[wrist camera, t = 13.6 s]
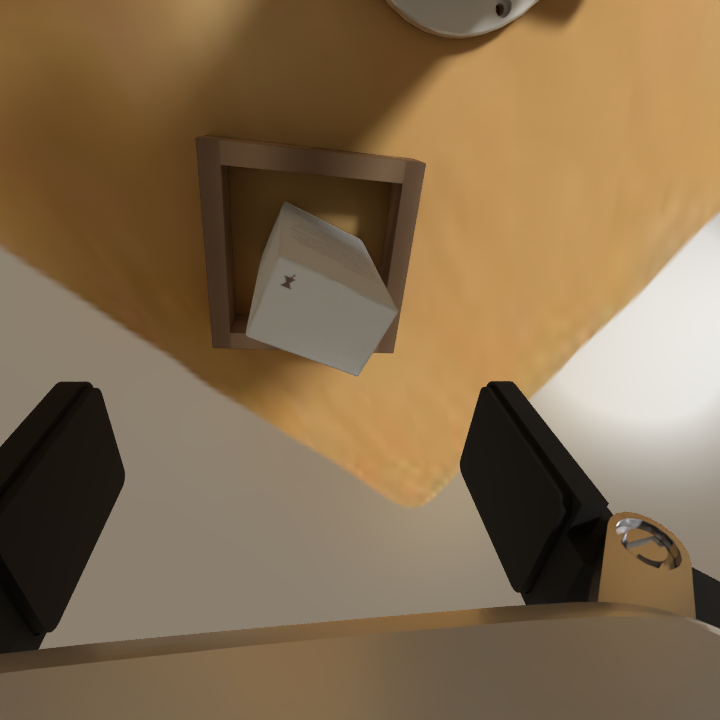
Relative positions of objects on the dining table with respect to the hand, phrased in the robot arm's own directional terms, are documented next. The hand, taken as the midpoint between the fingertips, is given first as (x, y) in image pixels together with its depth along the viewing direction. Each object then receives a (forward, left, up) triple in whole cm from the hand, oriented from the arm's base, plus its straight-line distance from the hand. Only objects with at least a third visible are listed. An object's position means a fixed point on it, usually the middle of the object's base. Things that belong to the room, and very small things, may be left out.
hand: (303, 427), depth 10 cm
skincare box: (-1, +1, -21) cm, 21 cm away
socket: (-1, +1, -21) cm, 21 cm away
